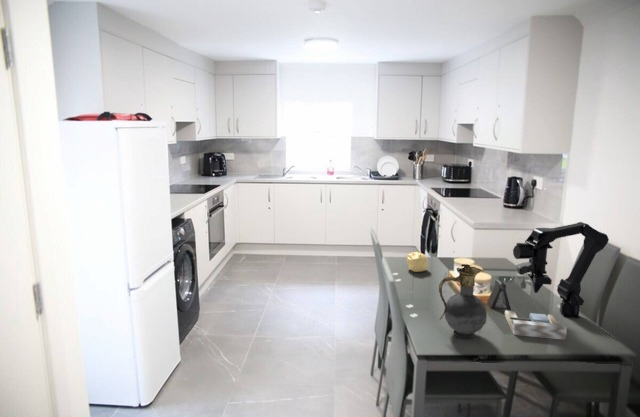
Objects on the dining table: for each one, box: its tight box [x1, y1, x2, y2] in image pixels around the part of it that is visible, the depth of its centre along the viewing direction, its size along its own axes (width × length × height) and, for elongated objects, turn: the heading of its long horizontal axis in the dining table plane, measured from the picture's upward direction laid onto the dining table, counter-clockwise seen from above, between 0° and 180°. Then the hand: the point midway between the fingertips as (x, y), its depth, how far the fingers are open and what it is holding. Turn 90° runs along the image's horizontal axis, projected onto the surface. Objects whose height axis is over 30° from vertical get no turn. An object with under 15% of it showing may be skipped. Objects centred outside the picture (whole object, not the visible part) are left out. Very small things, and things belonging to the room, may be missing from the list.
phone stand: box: [486, 278, 512, 310], centre depth 198 cm, size 9×6×12 cm, turn 85°
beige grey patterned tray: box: [504, 309, 568, 341], centre depth 179 cm, size 19×19×5 cm
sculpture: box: [406, 251, 429, 273], centre depth 247 cm, size 11×12×11 cm
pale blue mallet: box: [510, 312, 550, 323], centre depth 178 cm, size 14×6×5 cm, turn 77°
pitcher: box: [438, 263, 487, 339], centre depth 170 cm, size 11×19×30 cm, turn 93°
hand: (535, 292), depth 187 cm, fingers closed
